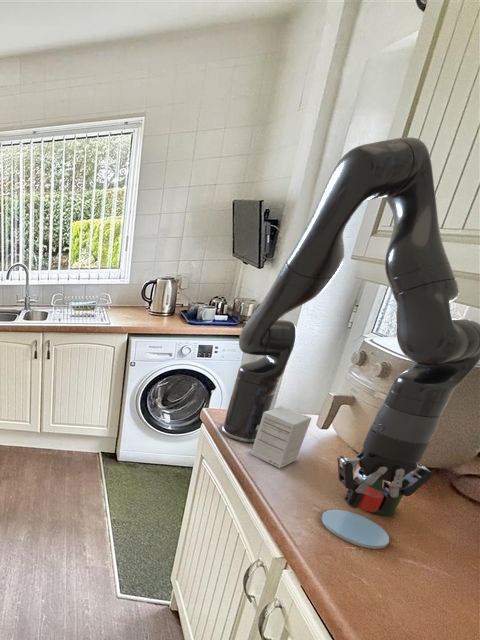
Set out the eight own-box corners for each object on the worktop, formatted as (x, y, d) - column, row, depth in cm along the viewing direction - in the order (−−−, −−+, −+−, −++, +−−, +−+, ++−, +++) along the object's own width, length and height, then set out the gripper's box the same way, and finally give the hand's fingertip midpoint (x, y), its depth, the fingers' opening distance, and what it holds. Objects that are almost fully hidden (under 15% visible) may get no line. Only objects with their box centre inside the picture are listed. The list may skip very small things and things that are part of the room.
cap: (346, 497, 81) (352, 483, 79) (369, 500, 80) (376, 486, 78) (357, 509, 77) (364, 496, 76) (382, 513, 76) (389, 499, 75)
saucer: (311, 509, 86) (313, 506, 86) (367, 516, 84) (369, 513, 84) (337, 543, 77) (339, 540, 77) (401, 553, 75) (403, 550, 75)
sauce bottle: (345, 496, 90) (375, 430, 83) (373, 495, 90) (405, 429, 83) (372, 516, 84) (407, 447, 77) (402, 515, 84) (439, 446, 77)
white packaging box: (266, 447, 108) (280, 405, 103) (296, 461, 102) (313, 417, 97) (249, 454, 106) (262, 411, 100) (279, 469, 99) (295, 424, 94)
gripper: (434, 425, 73) (395, 500, 80) (341, 416, 76) (311, 489, 83) (469, 446, 66) (423, 527, 73) (366, 436, 70) (331, 514, 77)
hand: (364, 506), depth 78 cm, fingers closed on cap, 4 cm apart
